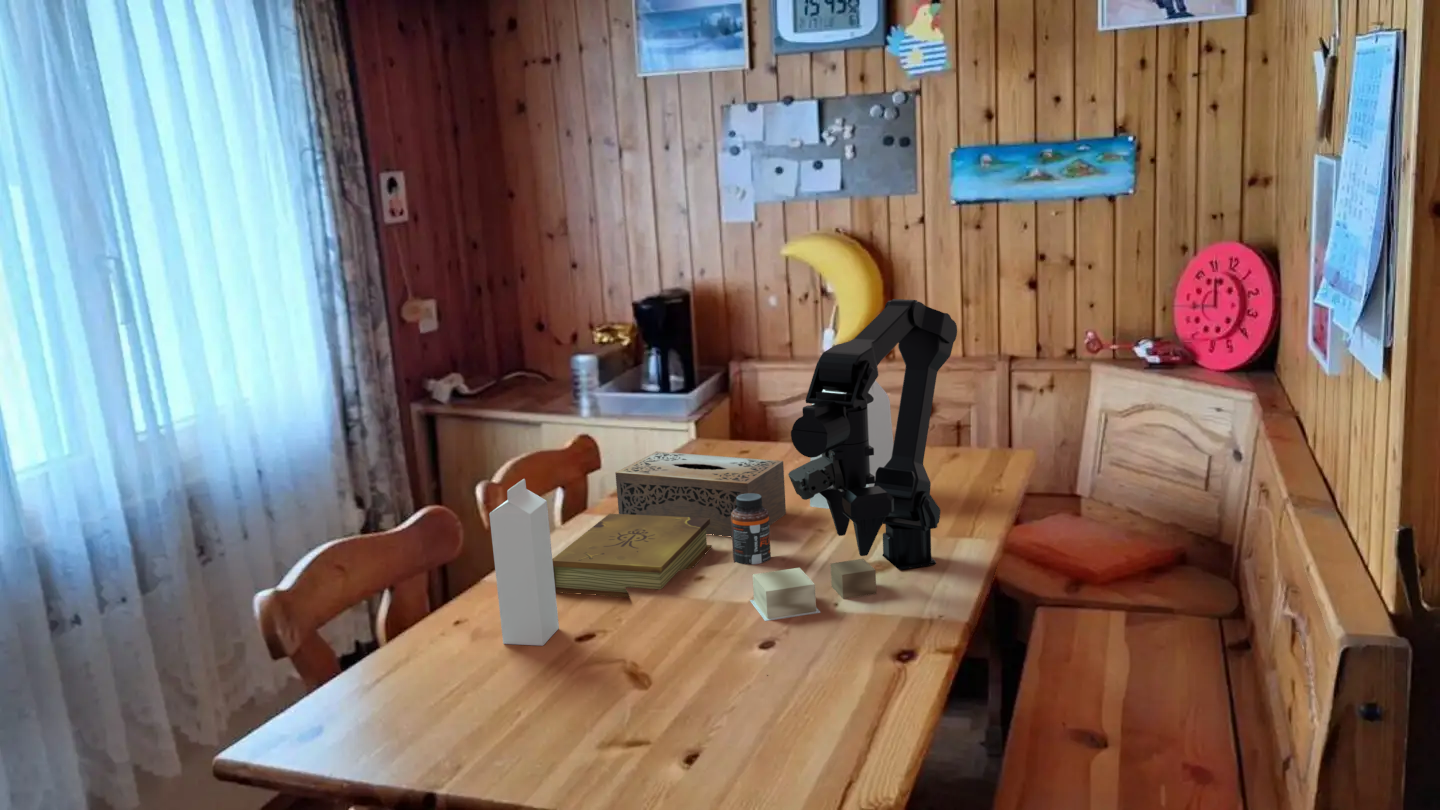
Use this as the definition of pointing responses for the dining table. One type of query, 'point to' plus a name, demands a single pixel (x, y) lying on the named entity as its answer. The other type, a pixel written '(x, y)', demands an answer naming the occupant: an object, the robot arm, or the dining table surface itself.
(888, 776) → the dining table surface
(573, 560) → the diary
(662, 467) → the tissue box cover
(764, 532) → the supplement bottle
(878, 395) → the milk
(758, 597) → the maple block
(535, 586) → the milk
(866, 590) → the walnut cube
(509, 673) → the dining table surface
